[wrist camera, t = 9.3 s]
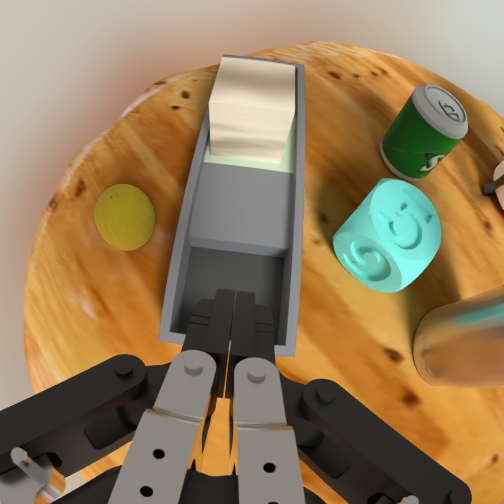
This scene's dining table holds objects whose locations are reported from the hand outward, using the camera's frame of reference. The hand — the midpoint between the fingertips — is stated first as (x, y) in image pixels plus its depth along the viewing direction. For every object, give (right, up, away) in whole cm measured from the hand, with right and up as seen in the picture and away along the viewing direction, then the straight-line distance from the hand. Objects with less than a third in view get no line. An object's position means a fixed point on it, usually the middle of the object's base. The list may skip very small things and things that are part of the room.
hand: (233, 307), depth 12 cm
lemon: (-11, +4, +17) cm, 21 cm away
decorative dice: (+13, +2, +19) cm, 23 cm away
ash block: (0, +15, +19) cm, 24 cm away
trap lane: (0, +10, +20) cm, 22 cm away
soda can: (+21, +14, +24) cm, 34 cm away
